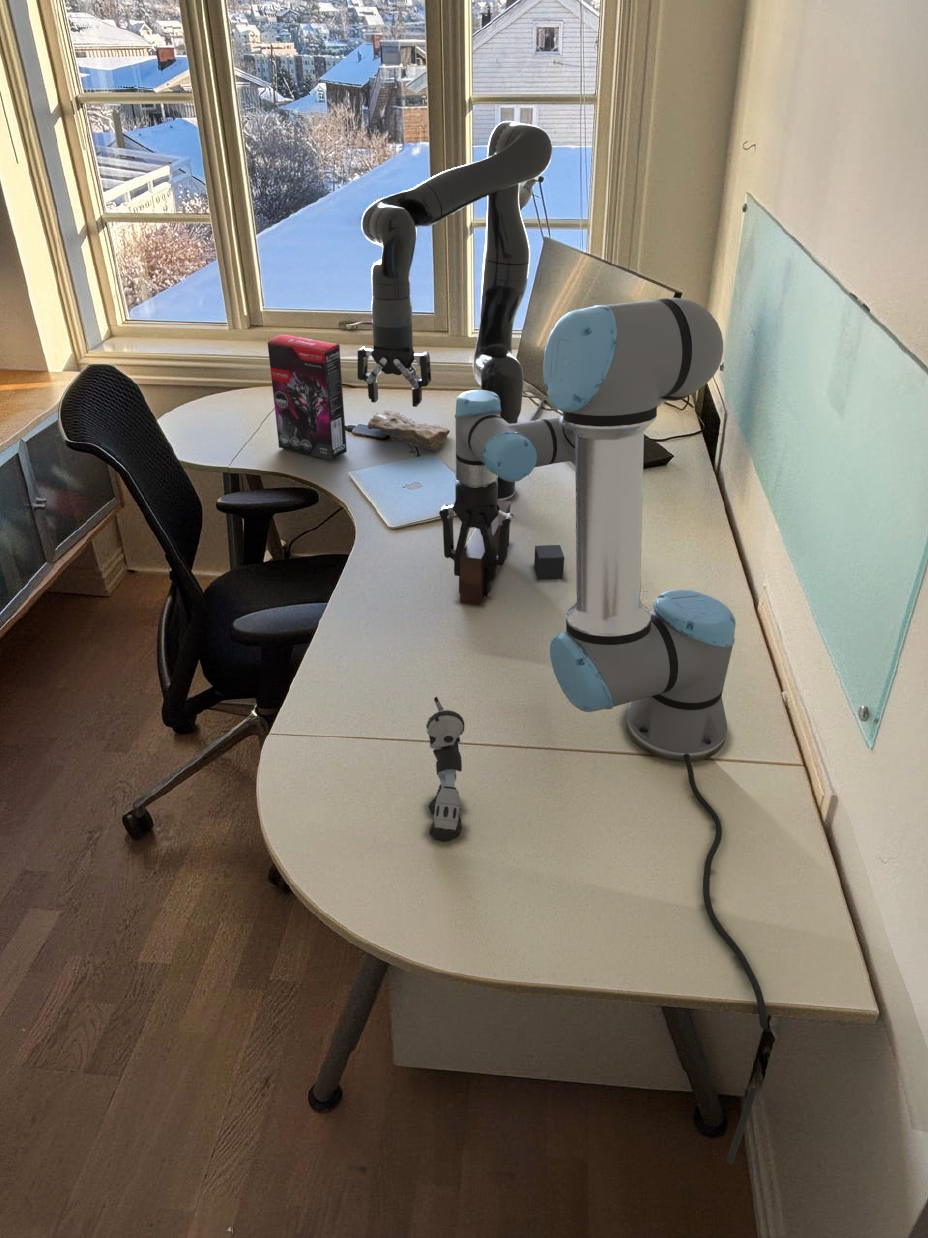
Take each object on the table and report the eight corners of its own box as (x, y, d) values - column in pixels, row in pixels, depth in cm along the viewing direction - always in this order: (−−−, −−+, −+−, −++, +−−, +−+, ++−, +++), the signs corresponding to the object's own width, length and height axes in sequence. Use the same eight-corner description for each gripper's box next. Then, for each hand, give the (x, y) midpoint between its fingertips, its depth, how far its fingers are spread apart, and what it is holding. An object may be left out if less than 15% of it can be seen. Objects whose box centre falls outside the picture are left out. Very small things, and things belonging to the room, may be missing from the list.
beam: (480, 605, 172) (481, 559, 167) (459, 602, 173) (460, 556, 168) (509, 545, 192) (510, 501, 186) (490, 542, 192) (491, 499, 187)
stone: (352, 434, 231) (356, 410, 229) (373, 426, 244) (377, 403, 242) (430, 458, 227) (435, 434, 225) (447, 448, 241) (452, 426, 238)
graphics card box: (276, 448, 231) (264, 340, 216) (293, 439, 236) (282, 332, 221) (333, 462, 225) (324, 351, 209) (349, 452, 230) (341, 343, 214)
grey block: (562, 579, 180) (564, 557, 178) (537, 580, 180) (538, 558, 177) (558, 566, 184) (560, 544, 182) (533, 567, 184) (535, 545, 181)
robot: (467, 874, 119) (468, 759, 108) (429, 876, 119) (427, 760, 108) (460, 769, 135) (460, 659, 124) (426, 770, 135) (424, 660, 124)
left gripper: (434, 317, 174) (435, 400, 183) (363, 311, 177) (367, 393, 186) (422, 328, 168) (424, 414, 177) (349, 322, 171) (354, 406, 180)
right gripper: (528, 476, 163) (522, 588, 176) (436, 464, 167) (437, 575, 180) (519, 494, 157) (514, 608, 170) (424, 482, 161) (426, 595, 174)
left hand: (395, 403), depth 181 cm, fingers open, 8 cm apart
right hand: (474, 591), depth 175 cm, fingers closed on beam, 4 cm apart
